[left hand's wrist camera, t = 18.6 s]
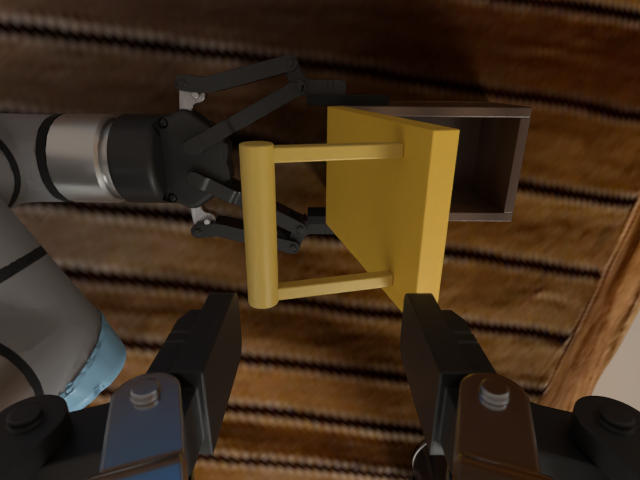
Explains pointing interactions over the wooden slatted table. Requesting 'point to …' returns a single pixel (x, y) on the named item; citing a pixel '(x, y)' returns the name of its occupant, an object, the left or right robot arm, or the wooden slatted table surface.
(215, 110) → the wooden slatted table surface
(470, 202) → the chest
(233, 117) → the right robot arm
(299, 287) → the lid
